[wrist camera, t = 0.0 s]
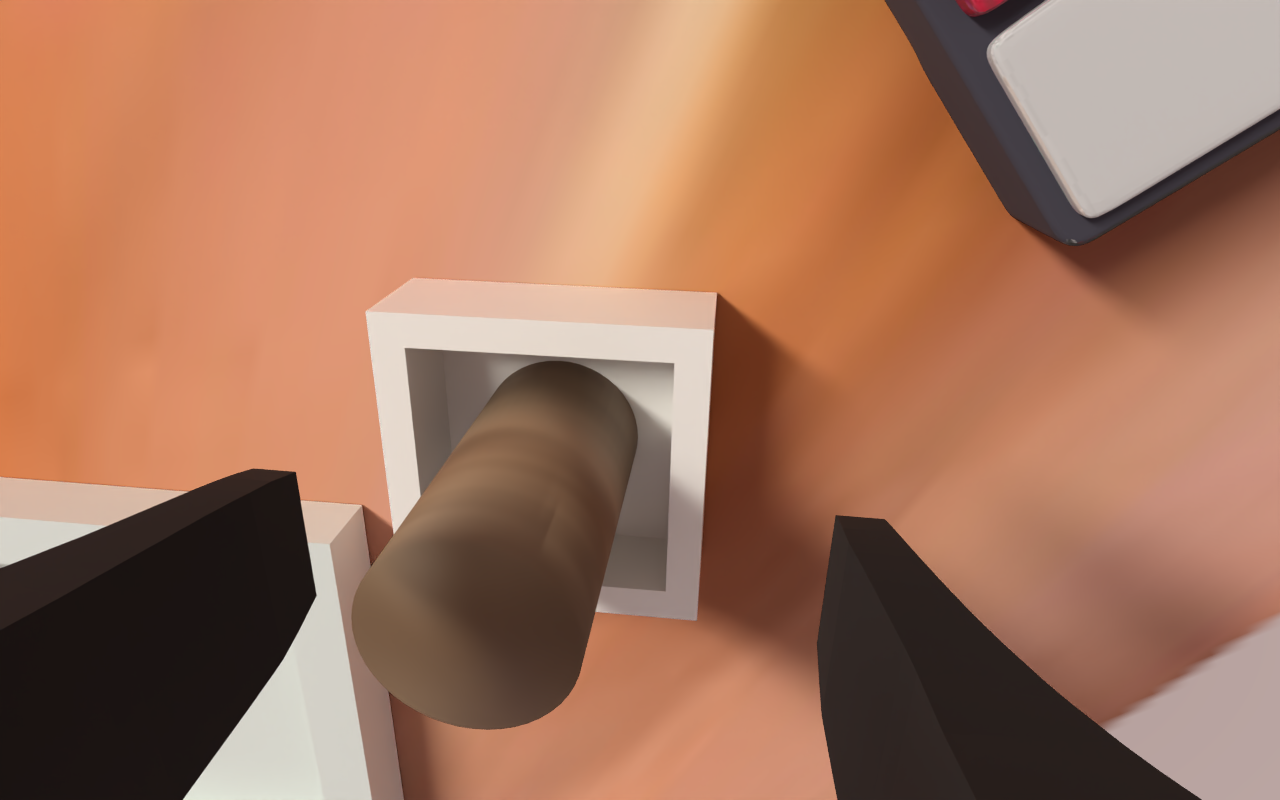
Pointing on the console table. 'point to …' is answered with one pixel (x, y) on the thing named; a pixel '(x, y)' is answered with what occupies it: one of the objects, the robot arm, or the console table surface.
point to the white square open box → (573, 332)
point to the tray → (304, 681)
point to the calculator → (1099, 97)
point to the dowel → (503, 555)
